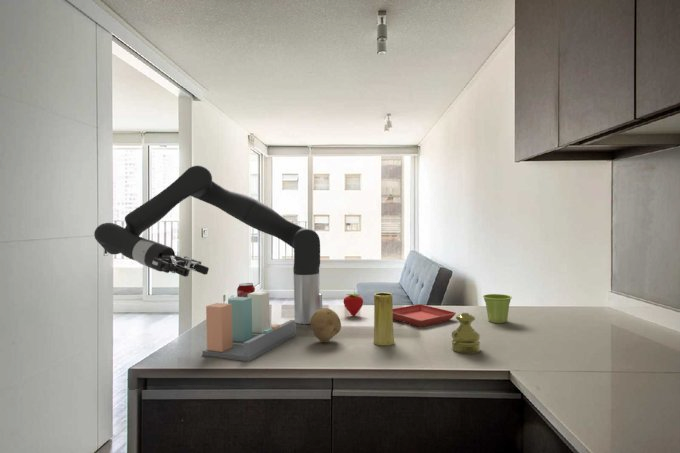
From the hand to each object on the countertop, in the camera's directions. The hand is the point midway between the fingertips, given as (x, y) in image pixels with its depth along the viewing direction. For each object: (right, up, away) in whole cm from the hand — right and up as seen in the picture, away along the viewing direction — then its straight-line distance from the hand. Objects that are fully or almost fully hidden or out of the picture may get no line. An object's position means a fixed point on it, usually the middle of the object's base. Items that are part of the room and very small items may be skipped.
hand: (198, 272), depth 114 cm
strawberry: (+45, -21, +38) cm, 63 cm away
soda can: (+4, -22, +44) cm, 49 cm away
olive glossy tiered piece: (+74, -21, -4) cm, 77 cm away
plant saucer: (+69, -21, +31) cm, 78 cm away
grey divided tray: (+14, -22, +5) cm, 26 cm away
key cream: (+14, -20, +15) cm, 29 cm away
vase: (+53, -21, +4) cm, 57 cm away
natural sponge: (+36, -22, +6) cm, 42 cm away
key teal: (+10, -21, +6) cm, 24 cm away
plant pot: (+95, -20, +26) cm, 100 cm away
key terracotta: (+7, -21, -3) cm, 22 cm away
